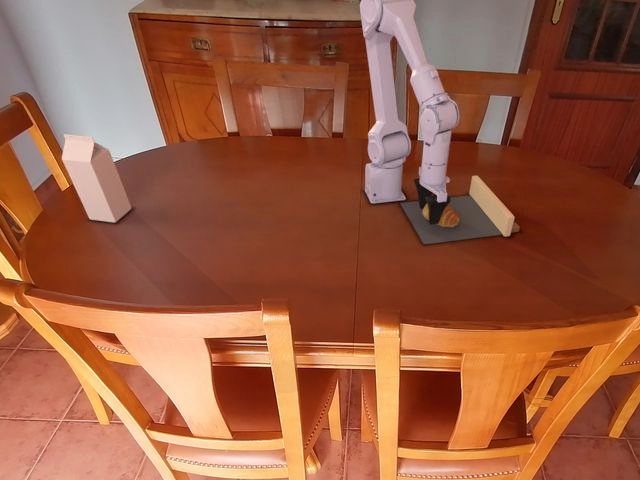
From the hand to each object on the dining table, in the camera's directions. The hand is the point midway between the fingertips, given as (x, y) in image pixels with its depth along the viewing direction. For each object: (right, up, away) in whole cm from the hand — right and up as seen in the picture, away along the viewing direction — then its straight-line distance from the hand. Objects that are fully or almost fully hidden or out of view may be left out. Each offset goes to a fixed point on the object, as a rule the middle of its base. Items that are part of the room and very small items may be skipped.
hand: (428, 215), depth 114 cm
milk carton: (-79, +1, +2) cm, 79 cm away
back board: (+17, +2, +4) cm, 18 cm away
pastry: (+3, -1, +2) cm, 3 cm away
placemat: (+5, 0, +2) cm, 6 cm away
